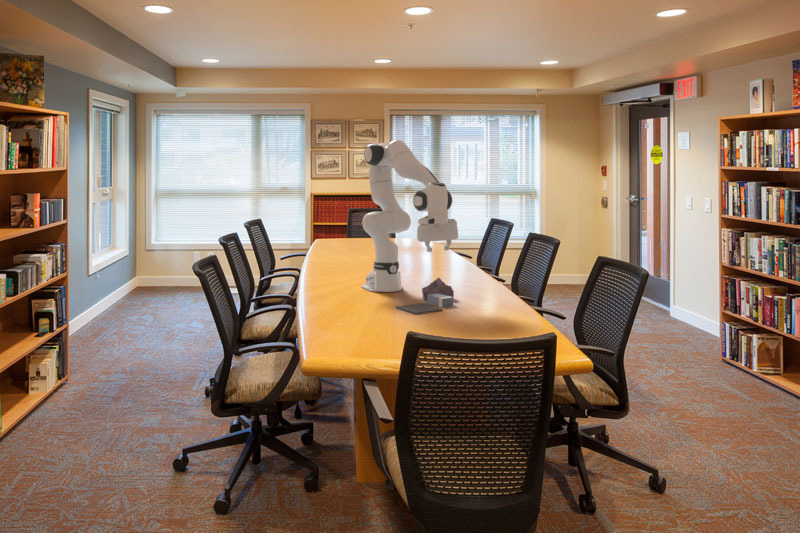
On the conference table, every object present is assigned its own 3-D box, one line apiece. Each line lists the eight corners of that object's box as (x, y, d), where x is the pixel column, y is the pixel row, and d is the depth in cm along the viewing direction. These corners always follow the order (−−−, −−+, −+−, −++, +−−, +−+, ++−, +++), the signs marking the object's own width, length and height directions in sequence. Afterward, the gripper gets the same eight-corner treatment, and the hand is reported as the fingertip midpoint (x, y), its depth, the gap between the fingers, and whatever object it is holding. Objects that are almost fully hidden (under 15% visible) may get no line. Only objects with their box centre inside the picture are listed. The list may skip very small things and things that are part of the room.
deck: (427, 303, 305) (427, 294, 305) (438, 302, 309) (438, 293, 308) (442, 307, 296) (442, 298, 296) (453, 306, 300) (453, 297, 299)
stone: (422, 279, 309) (454, 277, 312) (419, 277, 315) (451, 276, 318) (423, 302, 310) (455, 300, 313) (420, 300, 316) (452, 298, 319)
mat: (395, 308, 294) (395, 306, 294) (422, 304, 302) (422, 303, 302) (415, 314, 282) (415, 312, 282) (442, 310, 290) (442, 308, 290)
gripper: (452, 218, 307) (452, 249, 309) (414, 220, 296) (415, 251, 298) (461, 218, 302) (461, 249, 304) (423, 220, 291) (423, 252, 293)
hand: (438, 250), depth 301 cm, fingers open, 8 cm apart
